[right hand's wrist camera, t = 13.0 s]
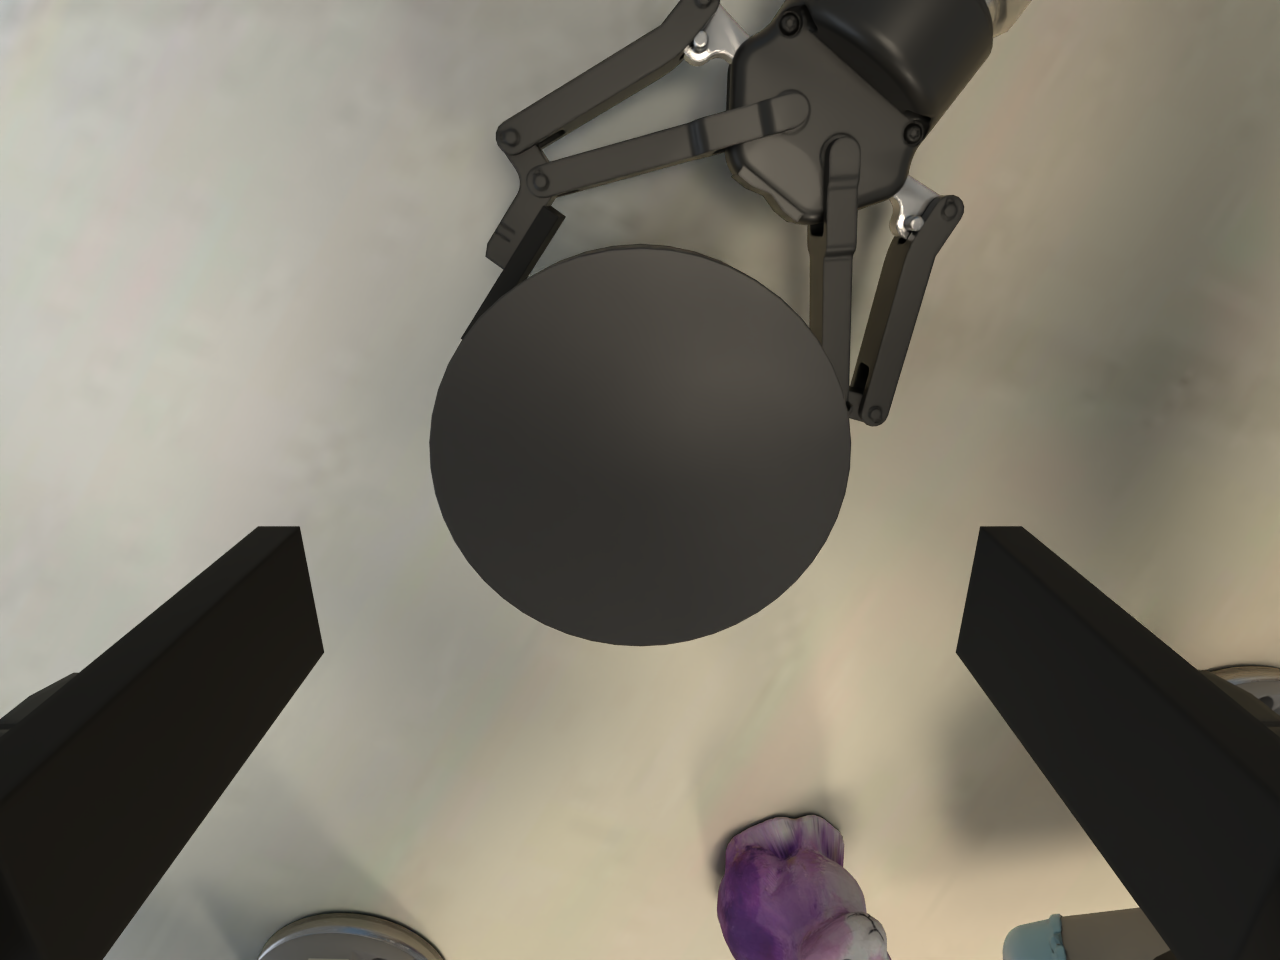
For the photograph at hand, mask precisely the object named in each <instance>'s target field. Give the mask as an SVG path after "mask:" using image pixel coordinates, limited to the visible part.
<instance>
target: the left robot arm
mask: <svg viewBox="0 0 1280 960" xmlns="http://www.w3.org/2000/svg"><path fill="white" fill-rule="evenodd" d="M1031 1H1032V0H786V1H785V2H784V4H783V5H782V7H781V8H780V10H779V11H778V13H777V14H776V16H775V17H774V19H773V20H772V22H771V23H770V24H769V25H768V26H767V27H766V28H765V29H763V30H762V31H760V32H759V33H757V34H755V35H753V36H751V37H749V35H748V34H747V33H746V32H745V31H744V30H743V29H742V28H741V27H740V25H739V24H738V23H737V22H736V21H735V20H734V19H733V18H732V17H731V15H730V14H729V13H728V12H727V11H726V10H725V9H724V8H723V7H722V5H721V4H720V0H680V1H679V3H678V4H677V5H676V6H675V8H674V9H673V10H672V12H671V13H670V14H669V15H668V17H667V18H666V19H665V21H664V22H663V23H662V24H661V25H660V26H659V27H657V28H655V29H654V30H652V31H651V32H649V33H647V34H646V35H644V36H642V37H641V38H639V39H638V40H636V41H634V42H633V43H631V44H629V45H628V46H626V47H625V48H623V49H621V50H620V51H618V52H616V53H615V54H613V55H612V56H610V57H608V58H607V59H605V60H603V61H602V62H600V63H599V64H597V65H595V66H594V67H592V68H590V69H589V70H587V71H586V72H584V73H582V74H581V75H579V76H577V77H576V78H574V79H573V80H571V81H569V82H568V83H566V84H564V85H563V86H561V87H560V88H558V89H556V90H555V91H553V92H551V93H550V94H548V95H547V96H545V97H543V98H542V99H540V100H539V101H537V102H535V103H534V104H532V105H530V106H529V107H527V108H526V109H524V110H522V111H521V112H519V113H517V114H516V115H514V116H513V117H511V118H509V119H508V120H506V121H504V122H503V123H502V124H501V125H500V126H499V127H498V129H497V132H496V141H497V144H498V146H499V147H500V149H501V150H502V151H503V152H504V153H505V154H506V156H507V157H508V159H509V160H510V162H511V163H512V165H513V166H514V167H515V169H516V171H517V172H518V175H519V178H520V188H519V191H518V193H517V195H516V197H515V199H514V200H513V202H512V204H511V205H510V207H509V209H508V210H507V212H506V214H505V215H504V217H503V219H502V220H501V222H500V224H499V225H498V227H497V229H496V230H495V232H494V233H493V235H492V237H491V238H490V240H489V242H488V244H487V250H486V256H485V257H487V258H488V259H490V260H491V261H492V262H494V263H495V264H497V265H498V266H499V267H501V268H502V269H504V270H503V271H502V273H501V274H500V276H499V278H498V279H497V281H496V283H495V284H494V286H493V287H492V289H491V291H490V292H489V294H488V295H487V297H486V299H485V300H484V302H483V304H482V305H481V307H480V308H479V310H478V312H477V313H476V315H475V316H474V318H473V320H472V321H471V323H470V325H469V326H468V328H467V329H466V331H465V333H464V334H463V336H462V338H461V339H463V338H464V337H465V336H466V334H467V333H468V332H469V330H470V329H471V328H472V327H473V325H474V324H475V323H476V321H477V320H478V319H479V318H480V317H481V316H482V315H483V314H484V313H485V312H486V311H487V310H488V309H489V308H490V307H491V306H492V305H493V304H494V303H495V302H496V301H497V300H498V299H499V298H500V297H502V296H503V295H504V294H506V293H507V292H509V291H510V290H511V289H513V288H514V287H516V286H517V285H518V284H520V283H521V282H522V281H524V280H525V279H527V277H528V276H529V274H530V272H531V271H532V269H533V268H534V266H535V265H536V263H537V261H538V260H539V258H540V257H541V255H542V253H543V252H544V250H545V249H546V247H547V246H548V244H549V242H550V241H551V239H552V238H553V236H554V235H555V233H556V231H557V230H558V228H559V227H560V225H561V223H562V222H563V220H564V219H565V216H564V215H563V214H561V213H560V212H559V211H557V210H556V209H555V208H553V207H552V206H551V205H552V203H553V201H554V200H555V198H557V197H561V196H565V195H568V194H572V193H576V192H579V191H583V190H586V189H590V188H594V187H597V186H601V185H605V184H608V183H612V182H615V181H619V180H623V179H626V178H630V177H634V176H637V175H641V174H644V173H648V172H652V171H655V170H659V169H663V168H666V167H670V166H674V165H677V164H681V163H684V162H688V161H692V160H697V159H701V158H705V157H708V156H712V155H716V154H719V153H723V152H725V157H726V162H727V165H728V167H729V169H730V171H731V173H732V174H733V175H732V178H733V179H735V180H736V181H737V182H738V183H740V184H741V185H742V186H743V187H745V188H746V189H749V190H751V191H754V192H756V193H758V194H761V195H763V196H764V198H765V199H766V201H767V202H768V204H769V205H770V206H771V208H772V209H773V211H774V212H776V213H777V214H778V215H779V216H781V217H782V218H783V219H784V220H785V221H787V222H793V223H796V224H803V225H808V231H807V243H808V251H809V254H810V330H811V331H812V332H813V334H814V335H815V336H816V338H817V339H818V340H819V342H820V344H821V345H822V347H823V349H824V351H825V352H826V354H827V356H828V358H829V359H830V361H831V363H832V365H833V367H834V370H835V372H836V375H837V377H838V380H839V382H840V385H841V387H842V390H843V394H844V399H845V403H846V407H847V411H848V415H849V418H851V419H854V420H858V421H861V422H864V423H865V424H867V425H869V426H878V425H880V424H882V423H883V422H884V421H885V420H886V418H887V416H888V414H889V410H890V407H891V404H892V400H893V397H894V394H895V390H896V387H897V384H898V380H899V377H900V373H901V370H902V367H903V363H904V360H905V357H906V353H907V350H908V347H909V343H910V340H911V337H912V333H913V330H914V326H915V323H916V320H917V316H918V313H919V310H920V306H921V303H922V300H923V296H924V293H925V290H926V286H927V283H928V279H929V276H930V273H931V269H932V266H933V263H934V259H935V256H936V255H937V253H938V252H939V250H940V249H941V247H942V246H943V244H944V243H945V242H946V240H947V239H948V237H949V236H950V234H951V233H952V231H953V230H954V228H955V227H956V225H957V224H958V222H959V221H960V219H961V217H962V215H963V213H964V205H963V202H962V200H961V199H960V198H959V197H957V196H954V195H946V196H943V195H939V194H937V193H936V192H934V191H933V190H931V189H929V188H928V187H926V186H925V185H923V184H922V183H920V182H919V181H917V180H916V179H914V178H913V177H911V176H910V175H908V174H909V169H910V164H911V161H912V158H913V156H914V154H915V152H916V150H917V148H918V147H919V145H920V144H921V142H922V141H923V140H924V139H925V137H926V136H927V135H928V134H929V132H930V131H931V130H932V128H933V127H934V126H935V125H936V123H937V122H938V121H939V119H940V118H941V117H942V116H943V114H944V113H945V112H946V110H947V109H948V108H949V107H950V105H951V104H952V103H953V101H954V100H955V99H956V98H957V96H958V95H959V94H960V92H961V91H962V90H963V89H964V87H965V86H966V85H967V83H968V82H969V81H970V80H971V78H972V77H973V76H974V74H975V73H976V72H977V71H978V69H979V68H980V67H981V65H982V64H983V63H984V62H985V60H986V59H987V58H988V56H989V54H990V53H991V49H992V44H993V38H995V37H997V36H999V35H1001V34H1003V33H1005V32H1007V31H1008V30H1009V29H1010V28H1011V27H1012V26H1013V24H1014V23H1015V22H1016V21H1017V19H1018V18H1019V17H1020V15H1021V14H1022V13H1023V11H1024V10H1025V9H1026V7H1027V6H1028V5H1029V4H1030V2H1031ZM714 58H721V59H724V60H725V61H727V62H728V63H729V68H728V77H727V106H726V111H725V112H721V113H717V114H714V115H710V116H707V117H703V118H700V119H697V120H694V121H692V122H690V123H687V124H683V125H680V126H676V127H672V128H669V129H665V130H662V131H658V132H655V133H651V134H647V135H644V136H640V137H637V138H633V139H630V140H626V141H623V142H619V143H615V144H612V145H608V146H605V147H601V148H598V149H594V150H590V151H587V152H583V153H580V154H576V155H573V156H569V157H565V158H562V159H558V160H555V161H551V162H549V160H548V159H547V157H546V156H545V154H544V153H543V151H542V149H543V148H545V147H547V146H548V145H550V144H552V143H553V142H555V141H557V140H558V139H560V138H562V137H563V136H565V135H567V134H568V133H570V132H572V131H573V130H575V129H577V128H578V127H580V126H582V125H583V124H585V123H587V122H588V121H590V120H592V119H593V118H595V117H597V116H598V115H600V114H602V113H603V112H605V111H607V110H608V109H610V108H612V107H613V106H615V105H617V104H618V103H620V102H622V101H623V100H625V99H627V98H628V97H630V96H632V95H633V94H635V93H637V92H638V91H640V90H642V89H643V88H645V87H646V86H648V85H650V84H651V83H653V82H655V81H656V80H658V79H660V78H661V77H663V76H664V75H666V74H667V73H669V72H670V71H672V70H673V69H674V68H675V67H676V66H677V65H679V64H680V63H681V62H682V61H683V60H684V59H685V60H686V62H688V63H689V64H690V65H693V66H701V65H704V64H705V63H707V62H708V61H709V60H711V59H714ZM888 199H889V200H890V202H891V204H892V207H893V214H892V217H891V219H890V223H889V227H890V231H891V233H892V234H893V235H894V238H893V240H892V242H891V244H890V247H889V249H888V251H887V254H886V257H885V261H884V264H883V268H882V271H881V275H880V279H879V282H878V286H877V290H876V293H875V297H874V301H873V304H872V308H871V312H870V315H869V319H868V323H867V326H866V330H865V334H864V337H863V341H862V345H861V348H860V352H859V356H858V359H857V363H856V367H855V370H854V374H853V378H852V381H851V385H850V386H849V371H850V334H851V297H852V260H853V255H854V252H855V250H856V243H857V210H859V209H862V208H865V207H868V206H871V205H874V204H877V203H879V202H882V201H885V200H888ZM1211 673H1213V674H1215V675H1217V676H1219V677H1221V678H1223V679H1225V680H1227V681H1228V682H1230V683H1232V684H1234V685H1236V686H1238V687H1240V688H1242V689H1244V690H1245V691H1247V692H1249V693H1251V694H1253V695H1254V696H1255V697H1256V698H1258V699H1259V700H1260V701H1261V702H1263V703H1264V704H1265V705H1267V706H1268V707H1269V708H1270V709H1272V710H1273V711H1274V712H1276V713H1277V714H1278V715H1279V716H1280V669H1278V668H1271V667H1262V666H1242V667H1232V668H1226V669H1220V670H1216V671H1212V672H1211ZM1003 960H1177V958H1176V957H1175V956H1174V954H1173V953H1172V951H1171V950H1170V949H1169V947H1168V946H1167V944H1166V943H1165V942H1164V940H1163V939H1162V937H1161V936H1160V935H1159V933H1158V932H1157V931H1156V929H1155V928H1154V926H1153V925H1152V924H1151V922H1150V921H1149V919H1148V918H1147V917H1146V915H1145V914H1144V913H1143V911H1142V910H1141V908H1132V909H1124V910H1115V911H1107V912H1098V913H1090V914H1082V915H1073V916H1065V917H1063V916H1061V915H1060V914H1053V915H1051V916H1050V918H1049V919H1047V920H1042V921H1038V922H1033V923H1029V924H1024V925H1020V926H1017V927H1015V928H1014V929H1012V930H1011V931H1010V932H1009V933H1008V935H1007V936H1006V938H1005V941H1004V945H1003Z"/></svg>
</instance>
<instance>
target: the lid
mask: <svg viewBox="0 0 1280 960" xmlns="http://www.w3.org/2000/svg"><path fill="white" fill-rule="evenodd" d="M429 445H430V467H431V473H432V479H433V484H434V490H435V494H436V497H437V500H438V504H439V507H440V510H441V513H442V516H443V519H444V521H445V523H446V525H447V527H448V529H449V531H450V533H451V535H452V537H453V539H454V541H455V543H456V544H457V546H458V547H459V549H460V550H461V552H462V553H463V555H464V557H465V558H466V560H467V561H468V563H469V564H470V565H471V566H472V567H473V568H474V570H475V571H476V572H477V573H478V574H479V575H480V577H481V578H482V579H483V580H484V581H485V582H486V583H487V584H488V585H489V586H490V587H491V588H492V589H493V590H495V591H496V592H497V593H498V594H499V595H500V596H501V597H502V598H503V599H505V600H506V601H508V602H509V603H510V604H512V605H513V606H514V607H516V608H517V609H519V610H520V611H521V612H523V613H525V614H526V615H528V616H530V617H532V618H534V619H535V620H537V621H539V622H541V623H543V624H544V625H547V626H549V627H552V628H554V629H557V630H559V631H561V632H564V633H566V634H569V635H573V636H576V637H580V638H583V639H587V640H590V641H595V642H601V643H607V644H613V645H627V646H654V645H667V644H673V643H679V642H685V641H690V640H694V639H697V638H701V637H704V636H708V635H711V634H714V633H717V632H719V631H721V630H724V629H726V628H729V627H731V626H734V625H736V624H738V623H740V622H741V621H743V620H745V619H747V618H749V617H750V616H752V615H754V614H756V613H758V612H759V611H760V610H762V609H763V608H765V607H766V606H767V605H769V604H770V603H772V602H773V601H774V600H776V599H777V598H778V597H779V596H780V595H782V594H783V593H784V592H785V591H786V590H787V589H788V588H789V587H790V586H791V585H792V584H794V583H795V582H796V581H797V580H798V578H799V577H800V576H801V575H802V574H803V572H804V571H805V570H806V569H807V568H808V567H809V565H810V564H811V563H812V562H813V560H814V559H815V557H816V556H817V554H818V553H819V551H820V550H821V548H822V547H823V545H824V543H825V542H826V540H827V538H828V536H829V534H830V532H831V530H832V528H833V526H834V524H835V522H836V519H837V517H838V514H839V511H840V508H841V505H842V502H843V499H844V496H845V492H846V487H847V481H848V476H849V471H850V456H851V436H850V425H849V415H848V411H847V407H846V403H845V399H844V394H843V390H842V387H841V385H840V382H839V380H838V377H837V375H836V372H835V370H834V367H833V365H832V363H831V361H830V359H829V358H828V356H827V354H826V352H825V351H824V349H823V347H822V345H821V344H820V342H819V340H818V339H817V338H816V336H815V335H814V334H813V332H812V331H811V330H810V329H809V327H808V326H807V325H806V323H805V322H804V321H803V320H802V318H801V317H800V316H799V315H798V314H797V313H796V312H795V311H794V310H793V309H792V308H791V307H789V306H788V305H787V304H786V303H785V302H784V301H783V300H782V299H781V298H780V297H779V296H777V295H776V294H775V293H773V292H772V291H771V290H769V289H768V288H766V287H765V286H764V285H762V284H761V283H759V282H758V281H757V280H755V279H753V278H752V277H750V276H748V275H746V274H744V273H743V272H741V271H739V270H737V269H735V268H733V267H731V266H729V265H727V264H725V263H724V262H722V261H719V260H717V259H714V258H711V257H708V256H705V255H703V254H700V253H697V252H694V251H689V250H684V249H680V248H675V247H670V246H660V245H646V244H635V245H621V246H610V247H606V248H601V249H596V250H591V251H587V252H583V253H581V254H578V255H575V256H572V257H570V258H567V259H564V260H561V261H559V262H557V263H555V264H553V265H551V266H549V267H547V268H546V269H544V270H542V271H540V272H538V273H536V274H534V275H533V276H531V277H529V278H527V279H525V280H524V281H522V282H521V283H520V284H518V285H517V286H516V287H514V288H513V289H511V290H510V291H509V292H507V293H506V294H504V295H503V296H502V297H500V298H499V299H498V300H497V301H496V302H495V303H494V304H493V305H492V306H491V307H490V308H489V309H488V310H487V311H486V312H485V313H484V314H483V315H482V316H481V317H480V318H479V319H478V320H477V321H476V323H475V324H474V325H473V327H472V328H471V329H470V330H469V332H468V333H467V334H466V336H465V337H464V338H463V339H462V341H461V343H460V345H459V346H458V348H457V350H456V352H455V353H454V355H453V357H452V358H451V360H450V362H449V364H448V366H447V369H446V371H445V374H444V376H443V379H442V381H441V384H440V386H439V389H438V392H437V396H436V401H435V405H434V409H433V413H432V420H431V430H430V441H429Z"/></svg>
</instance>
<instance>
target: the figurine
mask: <svg viewBox="0 0 1280 960" xmlns="http://www.w3.org/2000/svg"><path fill="white" fill-rule="evenodd" d="M843 858H844V842H843V836H842V835H841V833H840V832H839V831H838V830H837V829H835V828H834V827H832V825H830V823H828V822H827V821H826V820H825V819H823V818H821V817H818V816H816V815H807V816H804V817H800V818H797V819H791V818H788V817H775V818H774V819H769V820H766V821H764V822H763V823H759V824H757V825H755V826H752V827H750V828H748V829H746V830H745V831H742V832H741V833H740V834H737V835H736V836H734V837H733V838H732V839H731V841H730V842H729V843H728V845H727V849H726V865H725V875H724V877H723V879H722V881H721V884H720V887H719V891H718V902H717V915H718V920H719V923H720V926H721V929H722V933H723V936H724V938H725V941H726V943H727V945H728V947H729V949H730V951H731V953H732V955H733V957H734V958H735V959H736V960H891V958H890V956H889V954H888V952H887V938H886V933H885V931H884V928H883V926H882V924H881V923H880V922H879V921H878V920H876V919H875V918H873V917H872V916H870V915H869V914H867V913H866V905H865V900H864V895H863V892H862V890H861V888H860V886H859V885H858V883H857V881H856V880H855V879H854V878H853V876H852V875H851V874H850V873H849V872H848V871H847V870H845V869H844V868H843Z"/></svg>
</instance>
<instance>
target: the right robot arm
mask: <svg viewBox="0 0 1280 960" xmlns="http://www.w3.org/2000/svg"><path fill="white" fill-rule="evenodd" d="M323 653H324V649H323V644H322V639H321V634H320V628H319V623H318V618H317V613H316V608H315V603H314V598H313V592H312V587H311V582H310V577H309V572H308V567H307V562H306V556H305V551H304V546H303V541H302V536H301V531H300V526H258V527H257V528H256V529H254V530H253V531H252V532H251V533H250V534H248V535H247V536H246V537H245V538H243V539H242V540H241V541H240V542H239V543H237V544H236V545H235V546H234V547H232V548H231V549H230V550H229V551H228V552H226V553H225V554H224V555H223V556H221V557H220V558H219V559H218V560H217V561H215V562H214V563H213V564H212V565H210V566H209V567H208V568H207V569H206V570H204V571H203V572H202V573H201V574H199V575H198V576H197V577H196V578H195V579H193V580H192V581H191V582H190V583H188V584H187V585H186V586H185V587H184V588H182V589H181V590H180V591H179V592H177V593H176V594H175V595H174V596H173V597H171V598H170V599H169V600H168V601H166V602H165V603H164V604H163V605H161V606H160V607H159V608H158V609H157V610H155V611H154V612H153V613H152V614H150V615H149V616H148V617H147V618H146V619H144V620H143V621H142V622H141V623H139V624H138V625H137V626H136V627H135V628H133V629H132V630H131V631H130V632H128V633H127V634H126V635H125V636H124V637H122V638H121V639H120V640H119V641H117V642H116V643H115V644H114V645H113V646H111V647H110V648H109V649H108V650H106V651H105V652H104V653H103V654H102V655H100V656H99V657H98V658H97V659H95V660H94V661H93V662H92V663H91V664H89V665H88V666H87V667H86V668H84V669H83V670H82V671H81V672H80V673H72V674H70V675H68V676H67V677H65V678H63V679H61V680H59V681H57V682H55V683H53V684H51V685H50V686H48V687H46V688H44V689H42V690H40V691H38V692H36V693H35V694H33V695H31V696H29V697H28V698H27V699H25V700H24V701H23V702H21V703H20V704H19V705H18V706H16V707H15V708H14V709H13V710H11V711H10V712H9V713H8V714H6V715H5V716H4V717H2V718H1V719H0V960H103V958H104V957H105V956H106V954H107V953H108V951H109V950H110V949H111V947H112V946H113V944H114V943H115V942H116V940H117V939H118V937H119V936H120V935H121V933H122V932H123V931H124V929H125V928H126V926H127V925H128V924H129V922H130V921H131V919H132V918H133V917H134V915H135V914H136V913H137V911H138V910H139V908H140V907H141V906H142V904H143V903H144V901H145V900H146V899H147V897H148V896H149V895H150V893H151V892H152V890H153V889H154V888H155V886H156V885H157V883H158V882H159V881H160V879H161V878H162V876H163V875H164V874H165V872H166V871H167V870H168V868H169V867H170V865H171V864H172V863H173V861H174V860H175V858H176V857H177V856H178V854H179V853H180V852H181V850H182V849H183V847H184V846H185V845H186V843H187V842H188V840H189V839H190V838H191V836H192V835H193V834H194V832H195V831H196V829H197V828H198V827H199V825H200V824H201V822H202V821H203V820H204V818H205V817H206V815H207V814H208V813H209V811H210V810H211V809H212V807H213V806H214V804H215V803H216V802H217V800H218V799H219V797H220V796H221V795H222V793H223V792H224V791H225V789H226V788H227V786H228V785H229V784H230V782H231V781H232V779H233V778H234V777H235V775H236V774H237V773H238V771H239V770H240V768H241V767H242V766H243V764H244V763H245V761H246V760H247V759H248V757H249V756H250V754H251V753H252V752H253V750H254V749H255V748H256V746H257V745H258V743H259V742H260V741H261V739H262V738H263V736H264V735H265V734H266V732H267V731H268V730H269V728H270V727H271V725H272V724H273V723H274V721H275V720H276V718H277V717H278V716H279V714H280V713H281V711H282V710H283V709H284V707H285V706H286V705H287V703H288V702H289V700H290V699H291V698H292V696H293V695H294V693H295V692H296V691H297V689H298V688H299V687H300V685H301V684H302V682H303V681H304V680H305V678H306V677H307V675H308V674H309V673H310V671H311V670H312V669H313V667H314V666H315V664H316V663H317V662H318V660H319V659H320V657H321V656H322V655H323ZM956 653H957V655H958V656H959V657H960V659H961V660H962V662H963V663H964V664H965V666H966V667H967V669H968V670H969V671H970V673H971V674H972V675H973V677H974V678H975V680H976V681H977V682H978V684H979V685H980V687H981V688H982V689H983V691H984V692H985V693H986V695H987V696H988V698H989V699H990V700H991V702H992V703H993V705H994V706H995V707H996V709H997V710H998V711H999V713H1000V714H1001V716H1002V717H1003V718H1004V720H1005V721H1006V723H1007V724H1008V725H1009V727H1010V728H1011V730H1012V731H1013V732H1014V734H1015V735H1016V736H1017V738H1018V739H1019V741H1020V742H1021V743H1022V745H1023V746H1024V748H1025V749H1026V750H1027V752H1028V753H1029V754H1030V756H1031V757H1032V759H1033V760H1034V761H1035V763H1036V764H1037V766H1038V767H1039V768H1040V770H1041V771H1042V773H1043V774H1044V775H1045V777H1046V778H1047V779H1048V781H1049V782H1050V784H1051V785H1052V786H1053V788H1054V789H1055V791H1056V792H1057V793H1058V795H1059V796H1060V797H1061V799H1062V800H1063V802H1064V803H1065V804H1066V806H1067V807H1068V809H1069V810H1070V811H1071V813H1072V814H1073V815H1074V817H1075V818H1076V820H1077V821H1078V822H1079V824H1080V825H1081V827H1082V828H1083V829H1084V831H1085V832H1086V834H1087V835H1088V836H1089V838H1090V839H1091V840H1092V842H1093V843H1094V845H1095V846H1096V847H1097V849H1098V850H1099V852H1100V853H1101V854H1102V856H1103V857H1104V858H1105V860H1106V861H1107V863H1108V864H1109V865H1110V867H1111V868H1112V870H1113V871H1114V872H1115V874H1116V875H1117V876H1118V878H1119V879H1120V881H1121V882H1122V883H1123V885H1124V886H1125V888H1126V889H1127V890H1128V892H1129V893H1130V895H1131V896H1132V897H1133V899H1134V900H1135V901H1136V903H1137V904H1138V906H1139V907H1140V908H1141V910H1142V911H1143V913H1144V914H1145V915H1146V917H1147V918H1148V919H1149V921H1150V922H1151V924H1152V925H1153V926H1154V928H1155V929H1156V931H1157V932H1158V933H1159V935H1160V936H1161V937H1162V939H1163V940H1164V942H1165V943H1166V944H1167V946H1168V947H1169V949H1170V950H1171V951H1172V953H1173V954H1174V956H1175V957H1176V958H1177V960H1280V716H1279V715H1278V714H1277V713H1276V712H1274V711H1273V710H1272V709H1270V708H1269V707H1268V706H1267V705H1265V704H1264V703H1263V702H1261V701H1260V700H1259V699H1258V698H1256V697H1255V696H1254V695H1253V694H1251V693H1249V692H1247V691H1245V690H1244V689H1242V688H1240V687H1238V686H1236V685H1234V684H1232V683H1230V682H1228V681H1227V680H1225V679H1223V678H1221V677H1219V676H1217V675H1215V674H1213V673H1211V672H1209V671H1208V670H1197V669H1196V668H1194V667H1193V666H1192V665H1191V664H1189V663H1188V662H1187V661H1186V660H1185V659H1183V658H1182V657H1181V656H1180V655H1178V654H1177V653H1176V652H1175V651H1174V650H1172V649H1171V648H1170V647H1169V646H1167V645H1166V644H1165V643H1164V642H1163V641H1161V640H1160V639H1159V638H1158V637H1156V636H1155V635H1154V634H1153V633H1152V632H1150V631H1149V630H1148V629H1147V628H1145V627H1144V626H1143V625H1142V624H1141V623H1139V622H1138V621H1137V620H1136V619H1134V618H1133V617H1132V616H1131V615H1130V614H1128V613H1127V612H1126V611H1125V610H1123V609H1122V608H1121V607H1120V606H1118V605H1117V604H1116V603H1115V602H1114V601H1112V600H1111V599H1110V598H1109V597H1107V596H1106V595H1105V594H1104V593H1103V592H1101V591H1100V590H1099V589H1098V588H1096V587H1095V586H1094V585H1093V584H1092V583H1090V582H1089V581H1088V580H1087V579H1085V578H1084V577H1083V576H1082V575H1081V574H1079V573H1078V572H1077V571H1076V570H1074V569H1073V568H1072V567H1071V566H1070V565H1068V564H1067V563H1066V562H1065V561H1063V560H1062V559H1061V558H1060V557H1059V556H1057V555H1056V554H1055V553H1054V552H1052V551H1051V550H1050V549H1049V548H1048V547H1046V546H1045V545H1044V544H1043V543H1041V542H1040V541H1039V540H1038V539H1037V538H1035V537H1034V536H1033V535H1032V534H1030V533H1029V532H1028V531H1027V530H1026V529H1024V528H1023V527H1022V526H980V531H979V536H978V541H977V546H976V551H975V556H974V562H973V567H972V572H971V577H970V582H969V587H968V592H967V598H966V603H965V608H964V613H963V618H962V623H961V628H960V634H959V639H958V644H957V649H956ZM257 960H443V959H442V957H441V956H440V955H439V953H438V952H437V951H436V950H435V949H434V948H433V947H432V946H431V945H430V944H429V943H428V942H427V941H425V940H424V939H423V938H421V937H420V936H418V935H417V934H415V933H414V932H412V931H410V930H408V929H406V928H404V927H402V926H400V925H398V924H395V923H393V922H390V921H387V920H384V919H381V918H377V917H373V916H368V915H361V914H352V913H329V914H321V915H315V916H311V917H307V918H303V919H300V920H298V921H295V922H293V923H291V924H289V925H287V926H285V927H283V928H282V929H280V930H279V931H278V932H276V933H275V934H274V935H273V936H272V937H271V938H270V939H269V940H268V941H267V943H266V944H265V946H264V947H263V949H262V951H261V953H260V955H259V957H258V959H257Z"/></svg>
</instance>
